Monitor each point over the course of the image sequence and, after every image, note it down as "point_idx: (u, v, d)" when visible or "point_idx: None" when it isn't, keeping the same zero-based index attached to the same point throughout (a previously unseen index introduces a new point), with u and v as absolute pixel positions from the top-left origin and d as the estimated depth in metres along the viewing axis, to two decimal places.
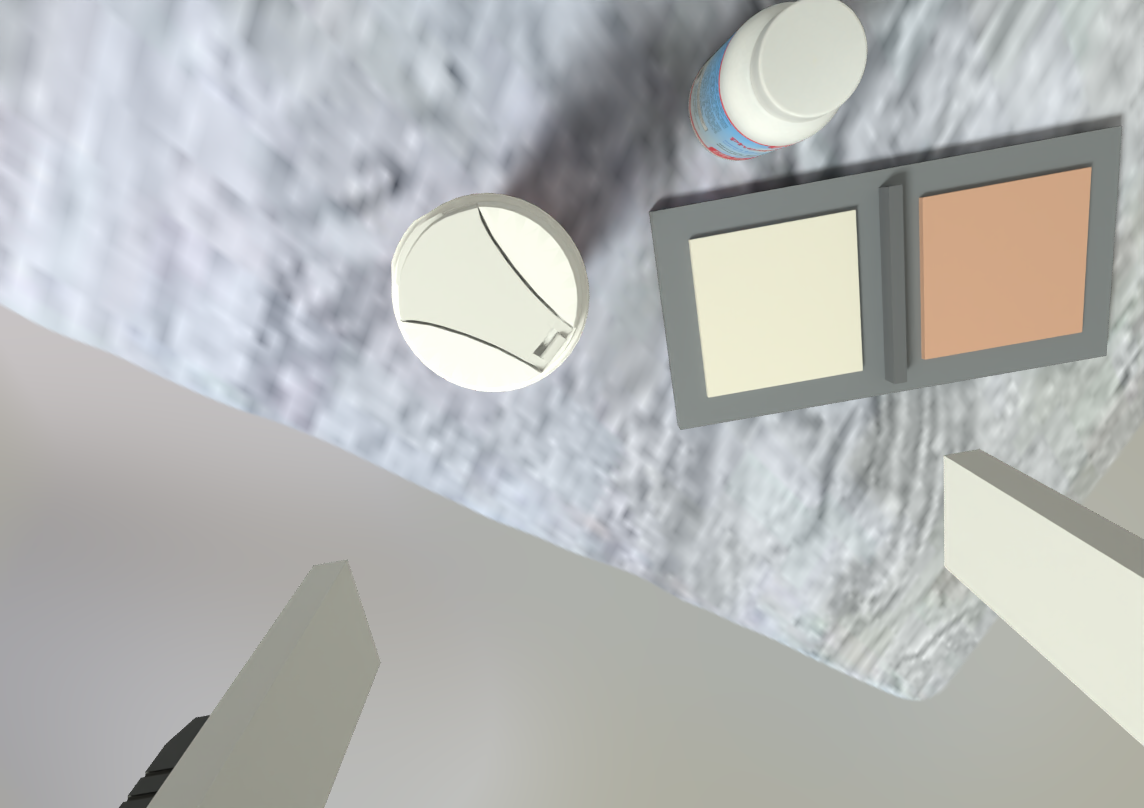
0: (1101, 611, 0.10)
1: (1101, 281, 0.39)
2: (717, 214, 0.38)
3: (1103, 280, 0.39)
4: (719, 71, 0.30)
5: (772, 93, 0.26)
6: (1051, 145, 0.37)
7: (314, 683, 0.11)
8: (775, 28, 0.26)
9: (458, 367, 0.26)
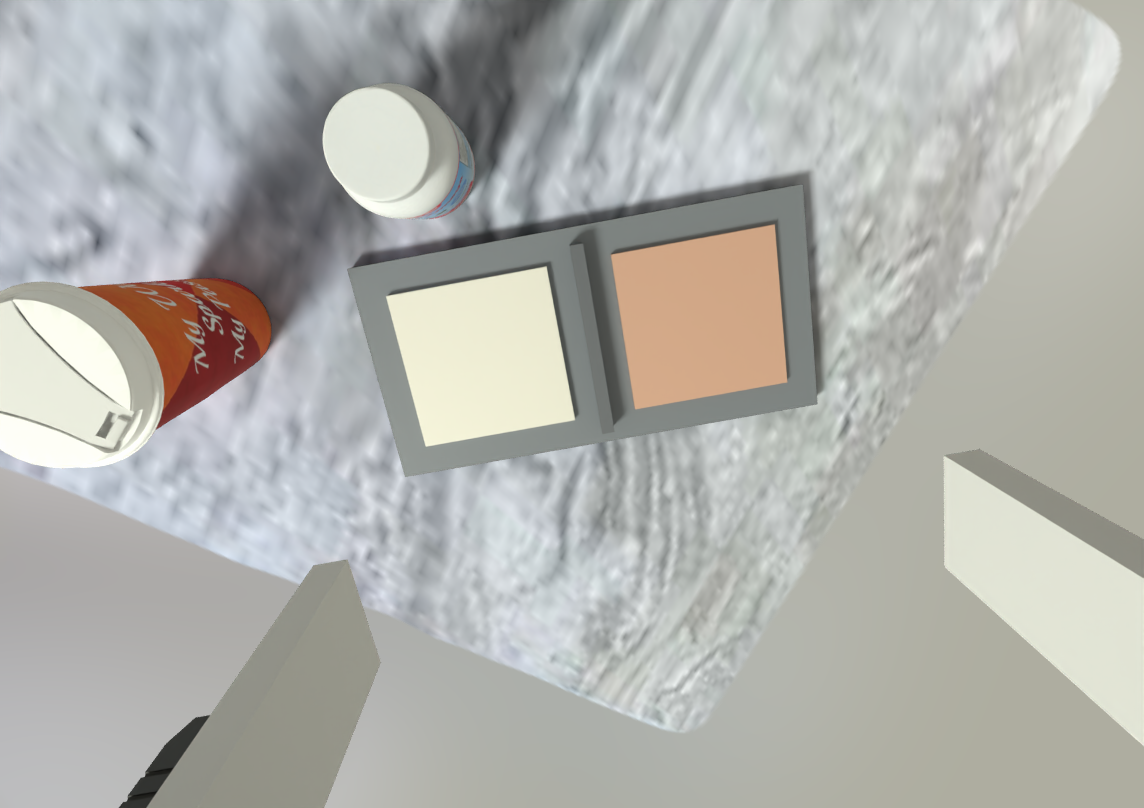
0: (1101, 611, 0.10)
1: (802, 333, 0.40)
2: (412, 271, 0.38)
3: (804, 332, 0.40)
4: None
5: (341, 178, 0.27)
6: (735, 203, 0.38)
7: (314, 683, 0.11)
8: (332, 118, 0.26)
9: (25, 448, 0.26)
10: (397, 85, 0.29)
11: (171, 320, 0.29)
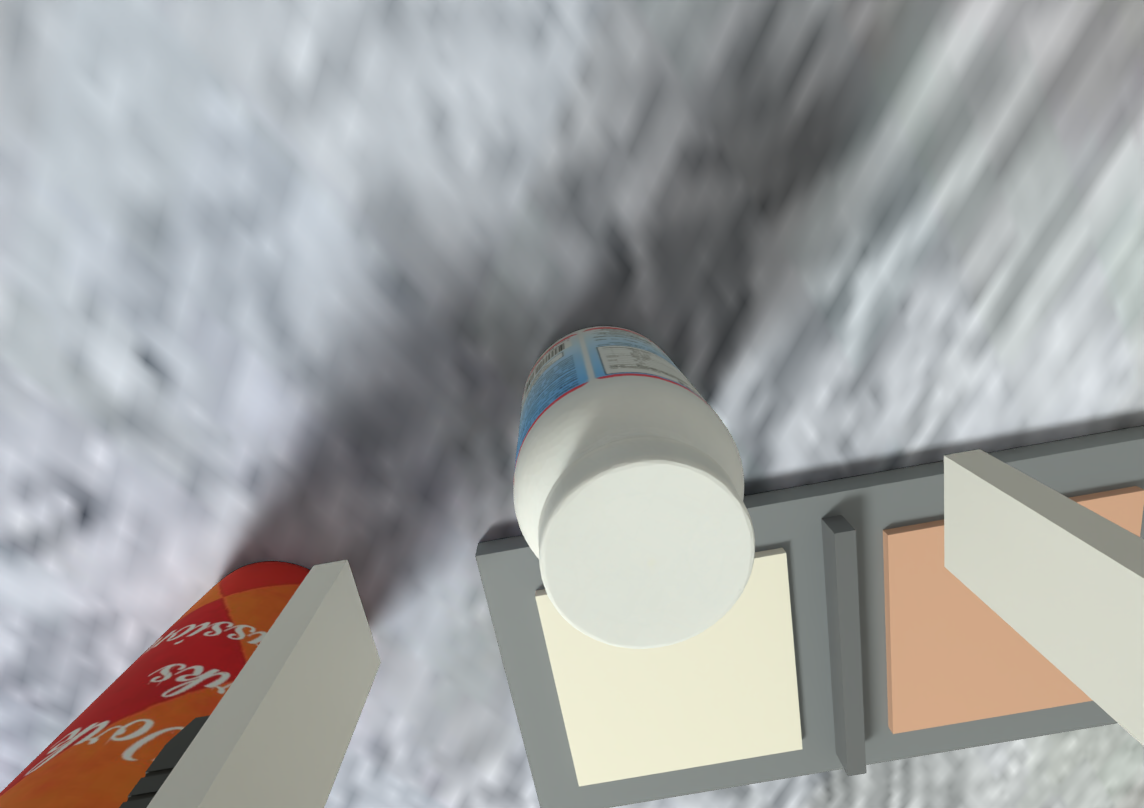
0: (1101, 611, 0.10)
1: None
2: None
3: None
4: None
5: (572, 616, 0.13)
6: (1085, 457, 0.24)
7: (314, 683, 0.11)
8: (566, 515, 0.13)
9: None
10: (653, 391, 0.15)
11: None
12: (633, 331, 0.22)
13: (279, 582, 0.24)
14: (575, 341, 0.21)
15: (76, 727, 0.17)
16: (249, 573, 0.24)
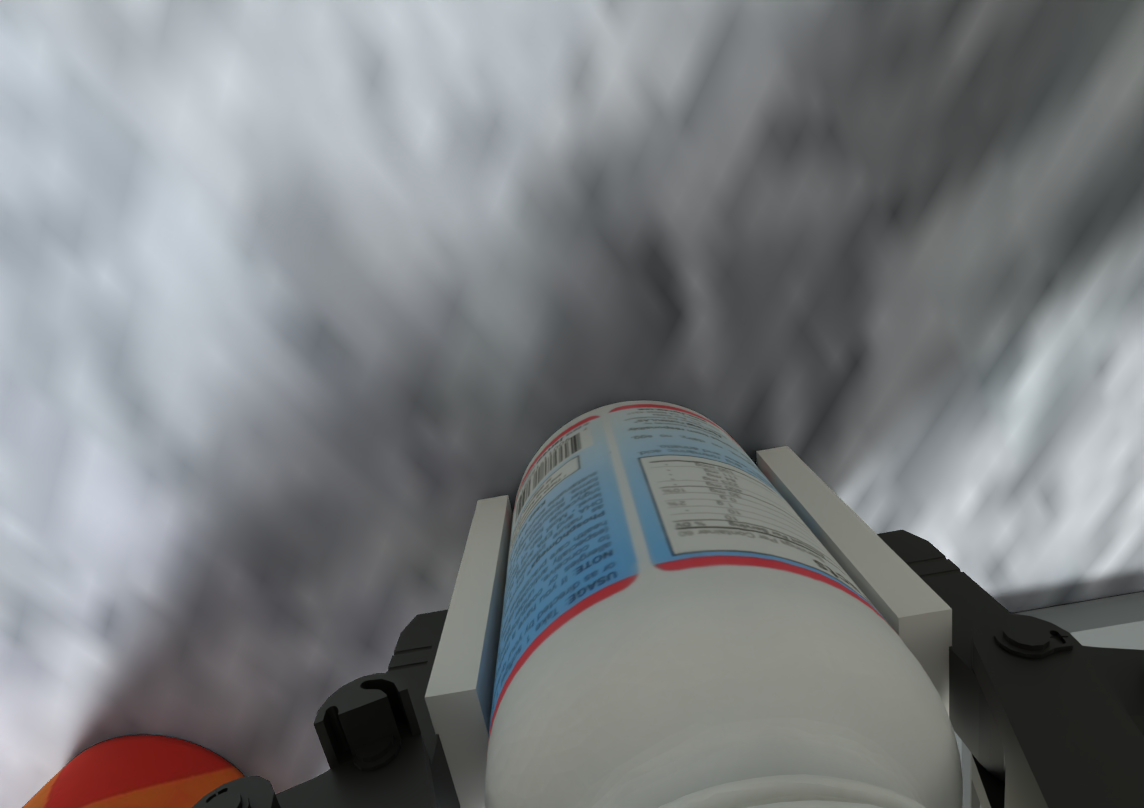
0: None
1: None
2: None
3: None
4: None
5: None
6: None
7: None
8: None
9: None
10: (788, 619, 0.07)
11: None
12: (687, 409, 0.14)
13: (142, 782, 0.16)
14: (598, 434, 0.13)
15: None
16: (101, 763, 0.16)
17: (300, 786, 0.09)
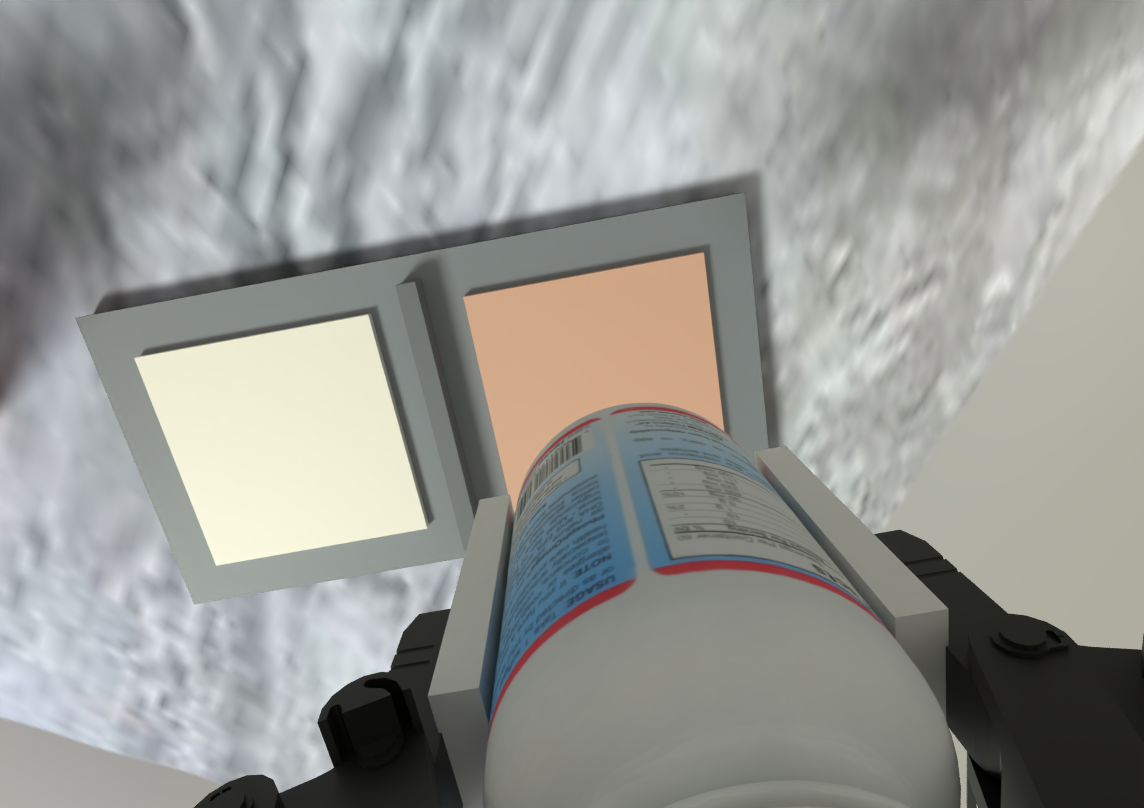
0: None
1: (750, 406, 0.28)
2: (173, 321, 0.26)
3: (753, 405, 0.28)
4: None
5: None
6: (645, 221, 0.25)
7: None
8: None
9: None
10: (784, 624, 0.07)
11: None
12: (689, 411, 0.14)
13: None
14: (599, 437, 0.13)
15: None
16: None
17: (303, 785, 0.09)
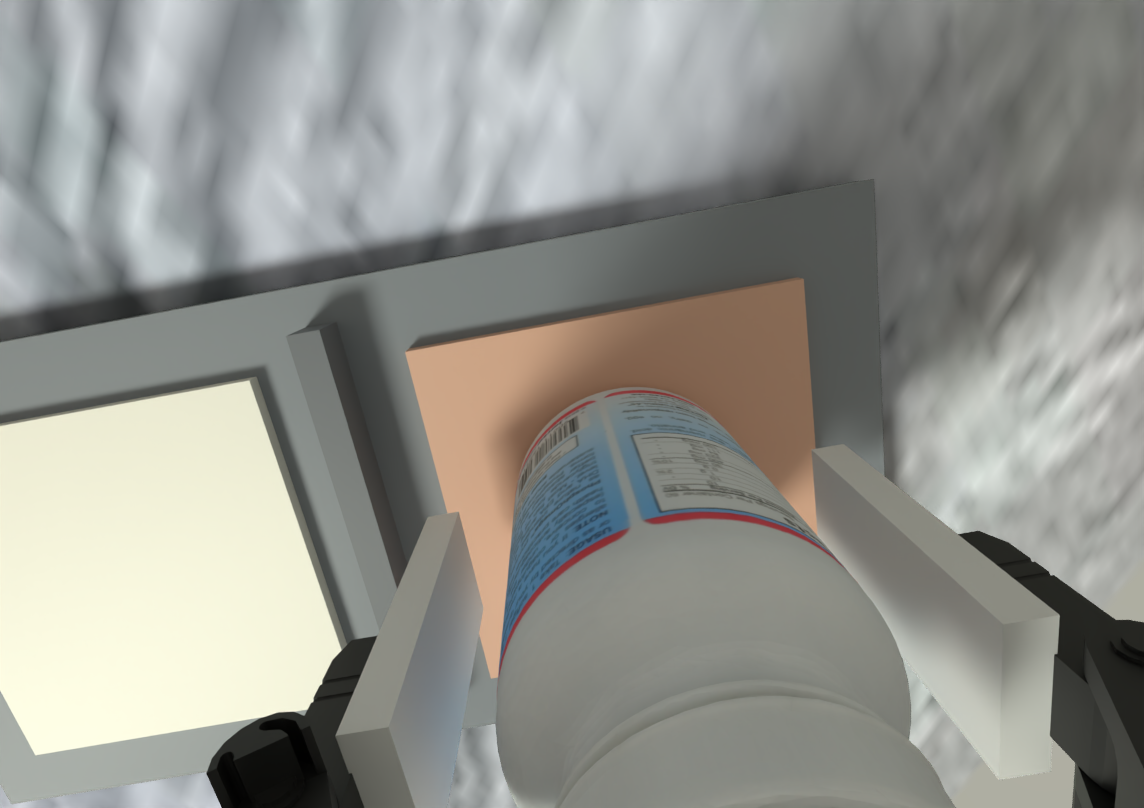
0: (905, 583, 0.11)
1: None
2: None
3: None
4: None
5: None
6: (707, 227, 0.15)
7: (449, 613, 0.12)
8: None
9: None
10: (757, 560, 0.08)
11: None
12: (677, 395, 0.15)
13: None
14: (595, 417, 0.14)
15: None
16: None
17: None
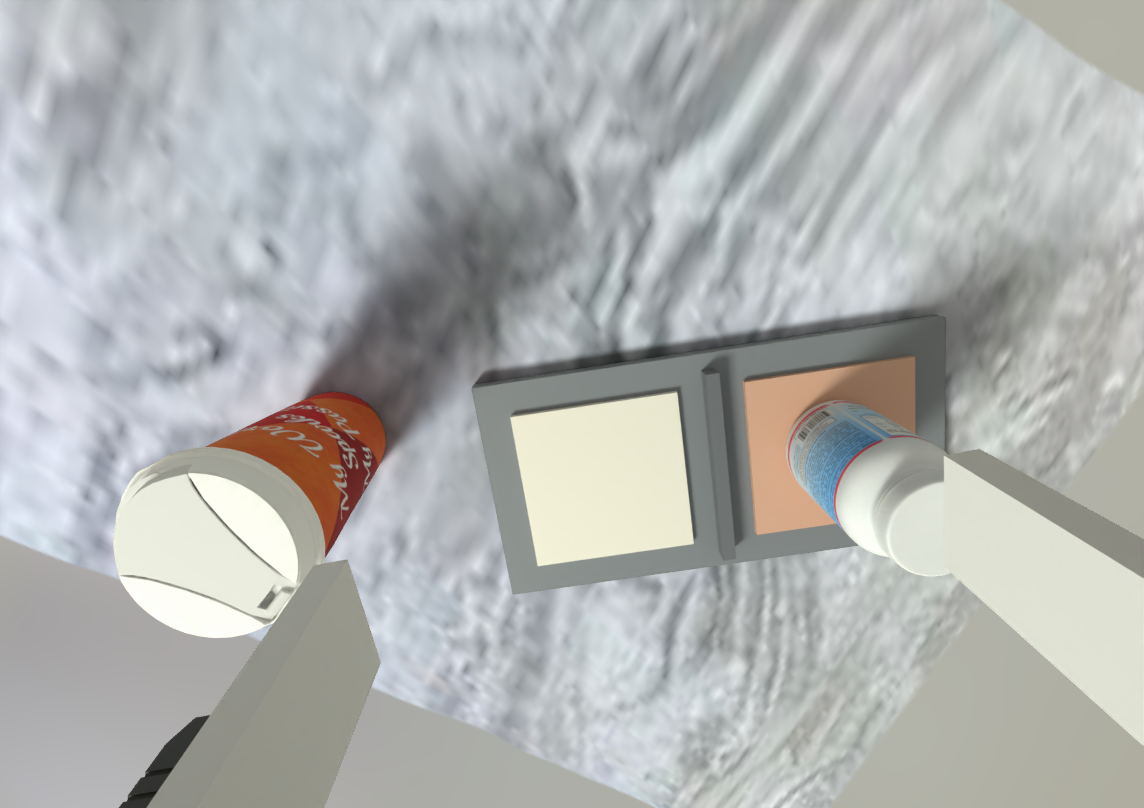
0: (1101, 611, 0.10)
1: None
2: (538, 392, 0.37)
3: None
4: (835, 488, 0.31)
5: (898, 557, 0.27)
6: (874, 334, 0.37)
7: (314, 683, 0.11)
8: (905, 506, 0.27)
9: (181, 618, 0.25)
10: (925, 446, 0.29)
11: (322, 470, 0.28)
12: None
13: (342, 398, 0.37)
14: (835, 410, 0.35)
15: (238, 431, 0.30)
16: (322, 394, 0.37)
17: None
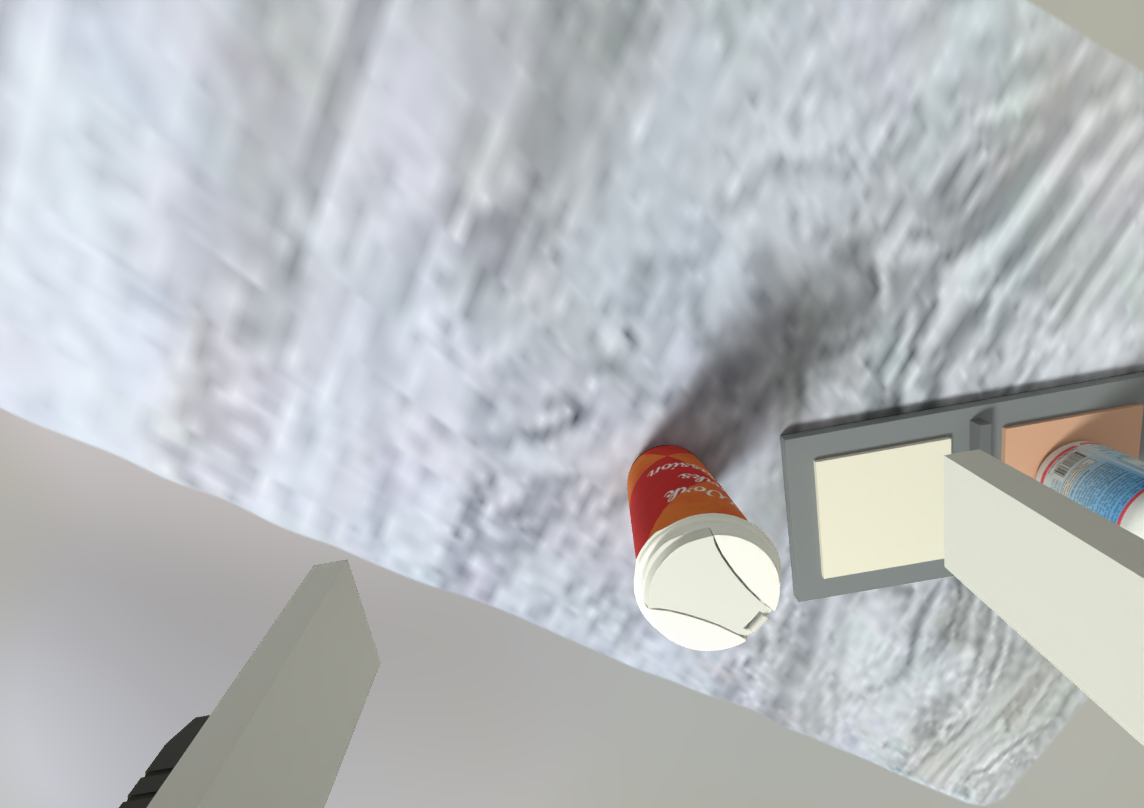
0: (1101, 611, 0.10)
1: None
2: (838, 441, 0.46)
3: None
4: (1119, 519, 0.40)
5: None
6: (1111, 387, 0.45)
7: (314, 683, 0.11)
8: None
9: (687, 637, 0.34)
10: None
11: None
12: None
13: (684, 452, 0.45)
14: (1089, 452, 0.44)
15: (667, 491, 0.38)
16: (665, 448, 0.46)
17: None
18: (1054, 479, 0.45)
